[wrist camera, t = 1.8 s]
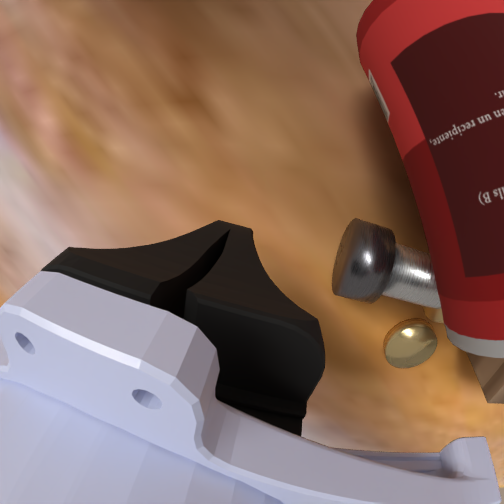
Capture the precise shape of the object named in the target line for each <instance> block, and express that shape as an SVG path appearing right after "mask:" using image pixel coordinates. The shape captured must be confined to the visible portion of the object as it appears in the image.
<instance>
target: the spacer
mask: <svg viewBox="0 0 504 504" xmlns="http://www.w3.org/2000/svg"><path fill="white" fill-rule="evenodd" d="M436 346H437V337H436V335H435V332H434V330H433V328H432V326H431V324H430V323H429V322H427V321H426V320H423V319H419V318H414V319H408V320H405V321H402V322H400V323H398V324H397V325H395V326H394V327H393V328H392V329H391V330H390V331H389V332H388V333H387V335H386V337H385V339H384V350H385V354H386V358H387V361H388V362H389V363H390V364H391V365H393V366H395V367H398V368H410V367H414V366H417V365H419V364H421V363H423V362H424V361H426V360H427V359H428V358H429V357H430V356H431V355H432V354H433V352H434V351H435V349H436Z"/></svg>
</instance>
